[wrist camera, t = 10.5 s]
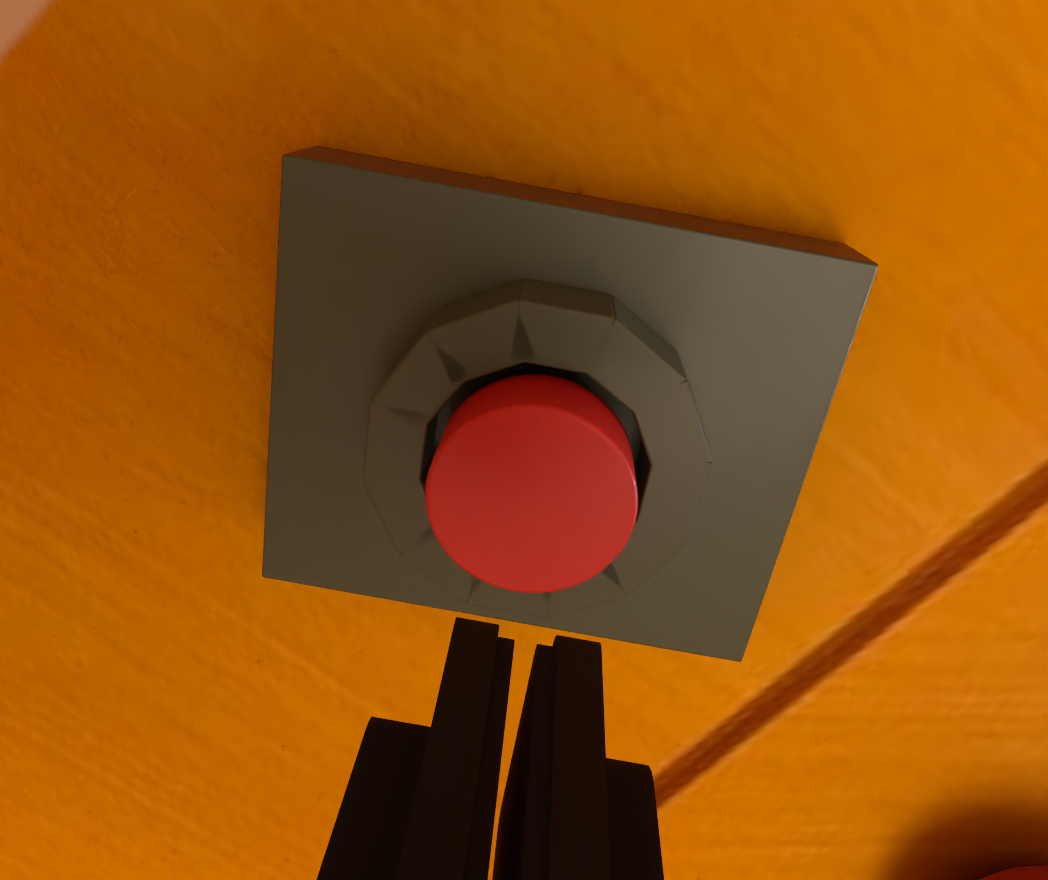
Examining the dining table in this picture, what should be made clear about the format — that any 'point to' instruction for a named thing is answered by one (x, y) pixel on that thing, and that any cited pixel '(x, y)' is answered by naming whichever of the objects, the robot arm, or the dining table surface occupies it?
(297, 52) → the dining table surface
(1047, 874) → the fruit slice
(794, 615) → the dining table surface
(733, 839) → the dining table surface
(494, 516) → the button
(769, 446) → the button box
